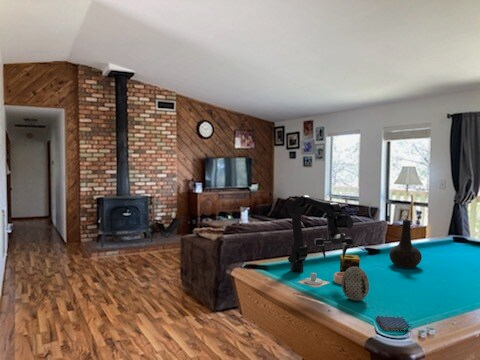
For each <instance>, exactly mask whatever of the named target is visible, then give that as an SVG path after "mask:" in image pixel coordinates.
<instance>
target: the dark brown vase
mask: <svg viewBox="0 0 480 360" xmlns="http://www.w3.org/2000/svg"><path fill="white" fill-rule="evenodd" d="M401 225H402V227H401V229H402V230H401V236H400V239H399V242H398V244H397V245H395V246H393V247H392V248H391V249H390V250H389V260H390V262H392V264H393V265H395V266H396V267H399V268H403V269H404V268H405V269H414V268H417V266H418V265H419V264H420V263H421V262H422V257H423V256H422V253H421V251H420V250H419V249H418V248H416V247H414V245H413V244H412V234H411V231H412V230H411V229H412V228H411V225H413V223H412V220H409V219H405V220H402V224H401Z"/></svg>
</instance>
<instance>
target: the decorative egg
mask: <svg viewBox="0 0 480 360" xmlns="http://www.w3.org/2000/svg"><path fill="white" fill-rule="evenodd" d="M341 289H342V292H343V294H344V295H345V297H346V298H347V299H349V300H351V301H355V302H357V301H358V302H359V301H362V300H363V299H365V298H366V297H367V296H368V294H369V292H370V282H369V278H368V275H367V274H366V272H365V271H364V269H362V268H361V267H360V266H359V267H356V266H353V267H350V268H348V269H347V270H346V271H345V273H344V275H343V277H342V284H341Z"/></svg>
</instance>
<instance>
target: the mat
mask: <svg viewBox="0 0 480 360" xmlns="http://www.w3.org/2000/svg"><path fill="white" fill-rule="evenodd" d="M309 278H311V276H310V277H309ZM321 280H322V281H323V283H322V284H320V285H310V284H307V283H305V282H304V279H301V280H299V281H297V283H298V284H303V285H305V286H310V287H313V288H316V289H317V288H320V287H322V286H325V285H327V284H330V283H331V282H330V281H326V280H323V279H321Z"/></svg>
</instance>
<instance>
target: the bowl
mask: <svg viewBox="0 0 480 360" xmlns="http://www.w3.org/2000/svg"><path fill="white" fill-rule="evenodd" d="M344 273H345V272H340V271H336V272H334V273H333V281H334V283H335V284H338V285H342V277H343V275H344Z"/></svg>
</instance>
